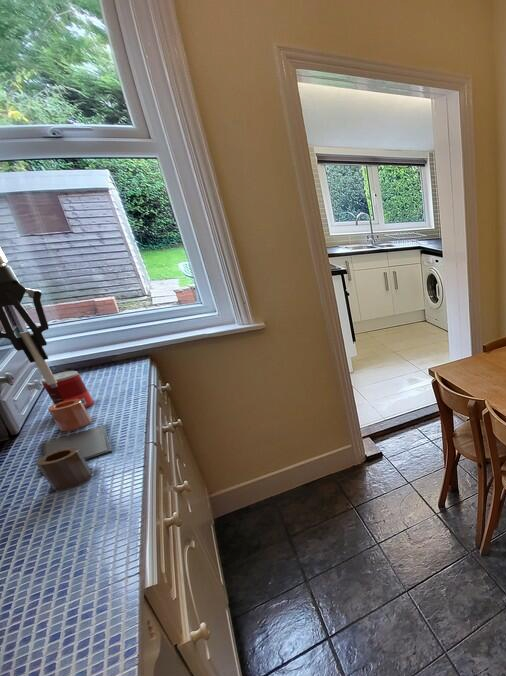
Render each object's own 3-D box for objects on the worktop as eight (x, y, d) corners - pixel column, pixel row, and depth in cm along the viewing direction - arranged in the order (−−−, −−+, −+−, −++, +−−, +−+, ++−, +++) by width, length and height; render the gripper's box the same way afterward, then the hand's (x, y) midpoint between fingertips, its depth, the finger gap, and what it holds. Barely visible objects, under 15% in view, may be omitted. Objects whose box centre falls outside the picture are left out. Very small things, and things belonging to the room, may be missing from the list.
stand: (45, 493, 87) (27, 466, 84) (70, 475, 93) (54, 449, 90) (77, 489, 87) (60, 462, 85) (101, 471, 93) (86, 445, 90)
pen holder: (54, 433, 111) (40, 411, 108) (74, 422, 117) (62, 400, 114) (80, 431, 112) (67, 408, 109) (98, 419, 118) (86, 398, 115)
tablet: (113, 453, 100) (111, 450, 100) (43, 477, 92) (40, 473, 92) (105, 427, 113) (103, 424, 113) (43, 446, 105) (41, 443, 105)
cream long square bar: (47, 388, 108) (16, 333, 102) (54, 386, 109) (23, 331, 104) (54, 387, 108) (23, 332, 102) (61, 385, 109) (30, 330, 104)
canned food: (100, 400, 130) (83, 368, 125) (85, 411, 123) (66, 378, 118) (70, 405, 128) (52, 373, 123) (53, 417, 121) (33, 383, 116)
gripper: (-68, 273, 89) (-5, 372, 99) (30, 263, 99) (79, 354, 109) (-62, 270, 94) (-3, 365, 104) (31, 261, 104) (77, 348, 113)
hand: (39, 359), depth 106 cm, fingers closed on cream long square bar, 2 cm apart
